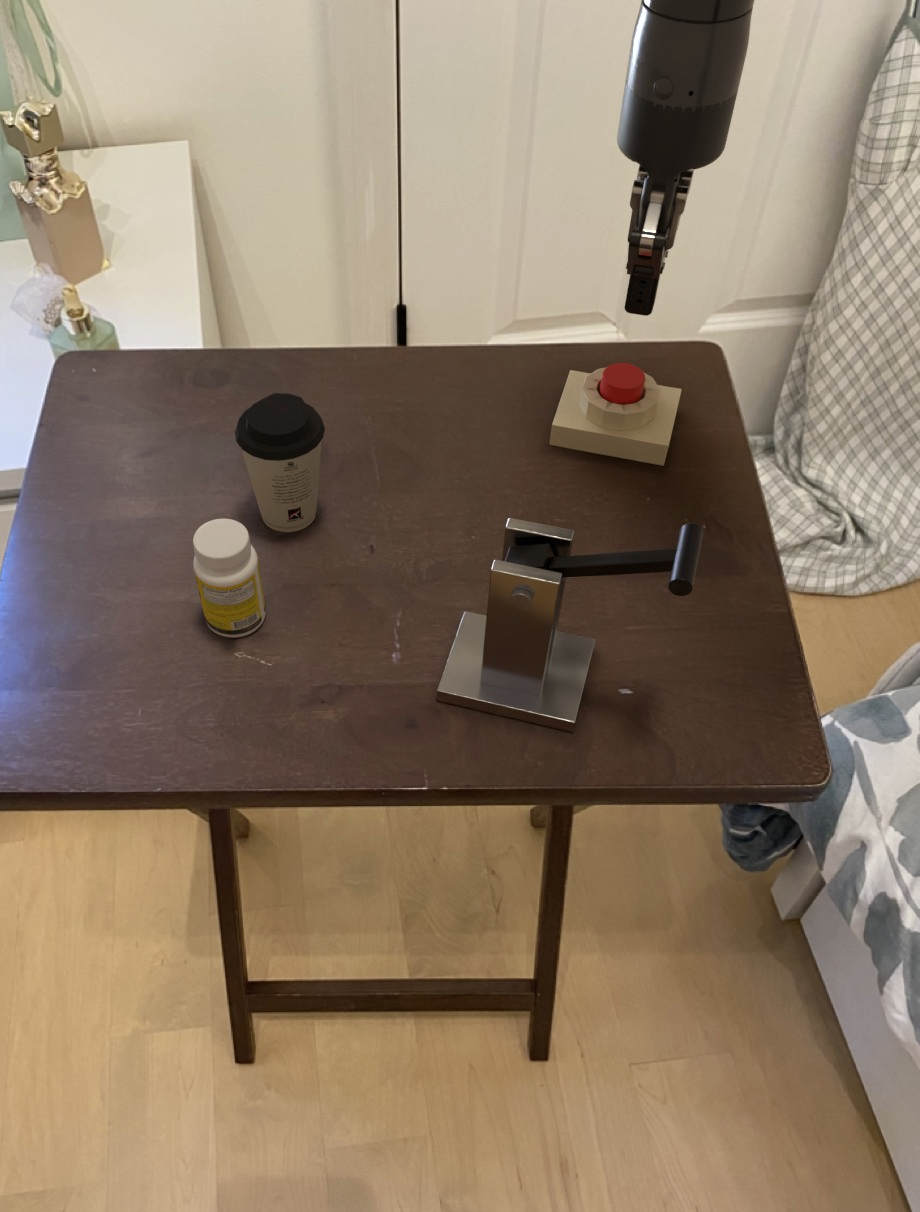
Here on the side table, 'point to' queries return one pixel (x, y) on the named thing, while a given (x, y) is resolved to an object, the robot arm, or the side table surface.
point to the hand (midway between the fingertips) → (638, 308)
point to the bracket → (520, 641)
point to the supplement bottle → (228, 578)
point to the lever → (622, 561)
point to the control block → (615, 420)
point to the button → (622, 384)
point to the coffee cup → (283, 459)
